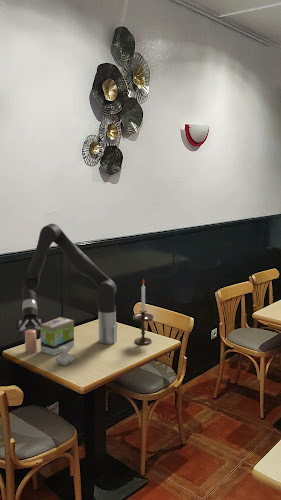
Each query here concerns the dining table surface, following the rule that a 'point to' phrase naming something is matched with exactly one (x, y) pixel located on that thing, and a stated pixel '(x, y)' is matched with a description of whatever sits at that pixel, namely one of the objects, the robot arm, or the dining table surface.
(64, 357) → the white lumpy piece
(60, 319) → the tea box
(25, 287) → the robot arm
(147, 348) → the dining table surface
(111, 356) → the dining table surface
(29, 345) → the tan rounded cylinder
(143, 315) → the candlestick
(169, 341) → the dining table surface
